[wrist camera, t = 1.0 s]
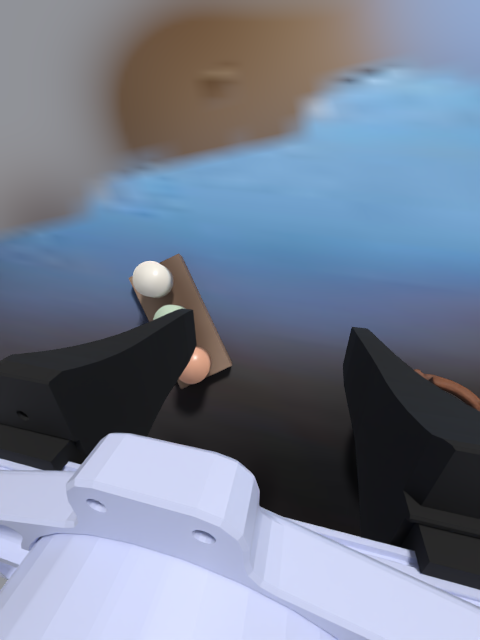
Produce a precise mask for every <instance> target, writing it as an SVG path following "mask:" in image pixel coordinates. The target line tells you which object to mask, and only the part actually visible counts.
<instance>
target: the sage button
mask: <svg viewBox="0 0 480 640" xmlns="http://www.w3.org/2000/svg"><path fill="white" fill-rule="evenodd" d="M181 308H182V309H186V308H184V307H182V306H177V305H166V306H163V307H161V308H160V309H159V310H158V311H157V312H156V313H155V315H154V318H153V320H155V319H157V318H159V317H161V316H164V315H166V314H168V313H170V312H173V311H175V310H178V309H181Z"/></svg>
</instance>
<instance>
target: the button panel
mask: <svg viewBox="0 0 480 640" xmlns="http://www.w3.org/2000/svg"><path fill="white" fill-rule="evenodd" d="M159 264H161V265H163V266H164V267H166V268H167V269H168V270H169V271H170V272H171V274H172V276H173V287H172V289H171V291H170V292H169V293H168V294H167V295H166V296H164V297H161V298H153V297H148V296H144V295H142V294H140V293H139V292H138V291H137V290H136V289H135V287H134V285H133V276H132V277H130V278H129V280H130V282H131V284H132V286H133V288H134V290H135V293H136V295H137V297H138V299H139V301H140V303H141V305H142V307H143V310H144V312H145V314H146V316H147V318H148V320H149V322H150V321H153V318H154V315H155V313H156V312H157V311H158V310H159V309H160V308H161V307H163V306H166V305H177V306H182V307H184V308H186V309H191V310H193V313H194V323H195V332H196V342H197V346H198V347H202V348H204V349H205V350H206V351H207V352H208V353H209V355H210V357H211V360H212V365H211V369H210V371H209V373H208V374H207V375H206V377H208V376H211V375H213V374H215V373H217V372H219V371H221V370H224V369H226V368H228V367H230V366H232V362H231V360H230V357H229V355H228V353H227V351H226V349H225V347H224V345H223V343H222V340H221V338H220V336H219V334H218V332H217V330H216V328H215V326H214V323H213V321H212V319H211V317H210V315H209V313H208V311H207V309H206V306H205V304H204V302H203V300H202V298H201V296H200V294H199V292H198V289H197V287H196V285H195V283H194V281H193V279H192V277H191V275H190V272H189V270H188V268H187V266H186V264H185V262H184V260H183V258H182V256H181V255H180V254H177V255H175V256H173V257H171V258H169V259H167V260H165V261H163V262H160V263H159ZM206 377H205V378H206ZM177 382H178V384H179V386H180V388H181V389H183V388H185V387H187V386H189V385H191V384H187V383H184V382H182V381H181V380H180V379H178V380H177Z"/></svg>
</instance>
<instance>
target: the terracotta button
mask: <svg viewBox="0 0 480 640" xmlns="http://www.w3.org/2000/svg"><path fill="white" fill-rule="evenodd" d="M211 365H212V360H211V357H210V355H209V353H208V352H207V351H206V350H205V349H204V348H202V347H198V346H196V348H195V350H194V353H193V355H192V357H191V359H190V361H189V363H188V365H187V366H186V368H185V370H184V371H183V373H182V374H181V376H180V377H179V379H180V380H181V381H182V382H184V383H187V384H195V383H198V382H200V381H202V380H203V379H204V378H205V377H206V375H207V374H208V373H209V371H210V369H211Z"/></svg>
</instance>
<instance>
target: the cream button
mask: <svg viewBox="0 0 480 640" xmlns="http://www.w3.org/2000/svg"><path fill="white" fill-rule="evenodd" d="M133 285H134V287H135V289H136V290H137V291H138V292H139V293H140V294H142V295H144V296H148V297H153V298H161V297H164V296H166V295H167V294H168V293H169V292H170V291H171V289H172V287H173V276H172V274H171V272H170V271H169V270H168V269H167V268H166V267H164V266H163V265H161V264H159V263H157V262H154V261H146V262H143V263H141V264H140V265H138V266H137V267H136V269H135V271H134V273H133Z"/></svg>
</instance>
